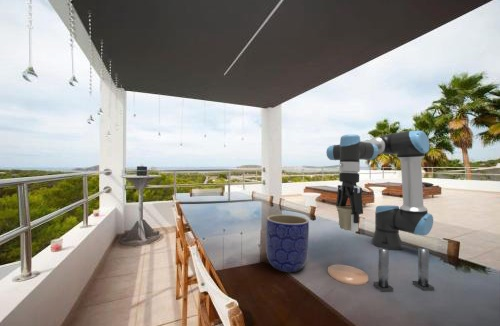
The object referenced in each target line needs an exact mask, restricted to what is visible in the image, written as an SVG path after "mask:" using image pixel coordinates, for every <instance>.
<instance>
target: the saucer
mask: <svg viewBox="0 0 500 326" xmlns="http://www.w3.org/2000/svg"><path fill="white" fill-rule="evenodd" d="M327 275H328V276H329V277H330V278H332V279H333V280H335V281H337V282H339V283H343V284H346V285H351V286H364V285H365V284H367V283H369V275H368V274H367V273H366V272H365V271H363V270H361V269H359V268H357V267H355V266H352V265H351V266H350V265H346V264H332V265H330V266H328V268H327Z"/></svg>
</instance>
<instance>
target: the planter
mask: <svg viewBox="0 0 500 326" xmlns="http://www.w3.org/2000/svg"><path fill="white" fill-rule="evenodd" d="M265 225H266V226H265V252H266V253H265V254H266V257H267V261H268V262H269V264H270V265H271V267H272V268H274V269H276V270H278V271H280V272H285V273H292V272H299V271H300V270H301V269H302V268H303V267H304V265H305V264H306V262H307V259H308V250H309V236H310V235H309V234H310V231H309V230H310V221H309V219H308V218H306V217H303V216H298V215H293V214H292V215H291V214H271V215H269V216H267V217H266V223H265Z"/></svg>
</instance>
